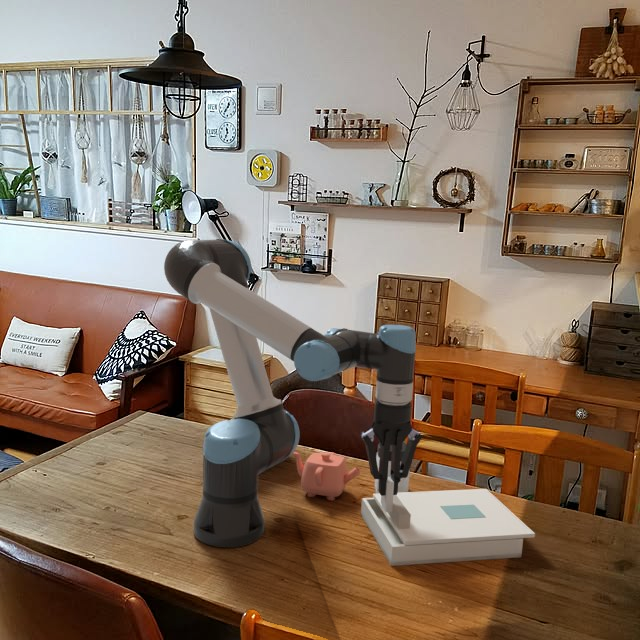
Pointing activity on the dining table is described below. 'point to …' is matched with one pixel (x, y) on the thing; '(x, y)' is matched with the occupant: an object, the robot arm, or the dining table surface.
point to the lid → (452, 517)
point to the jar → (403, 483)
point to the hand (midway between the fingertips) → (386, 508)
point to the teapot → (324, 474)
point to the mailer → (436, 551)
